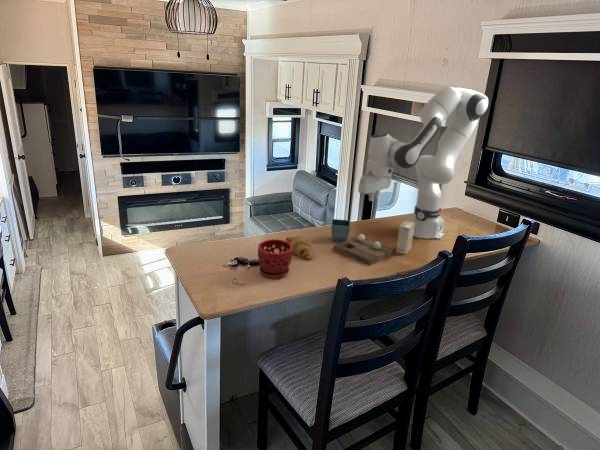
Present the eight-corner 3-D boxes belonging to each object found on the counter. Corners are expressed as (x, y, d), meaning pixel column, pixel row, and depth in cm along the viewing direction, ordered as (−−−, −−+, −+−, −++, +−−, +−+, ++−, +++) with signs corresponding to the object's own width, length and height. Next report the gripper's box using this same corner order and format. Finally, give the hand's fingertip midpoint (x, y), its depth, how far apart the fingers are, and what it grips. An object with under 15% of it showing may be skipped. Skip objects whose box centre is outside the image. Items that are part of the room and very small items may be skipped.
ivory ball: (360, 239, 193) (361, 232, 192) (366, 241, 191) (367, 234, 189) (355, 240, 190) (356, 234, 189) (361, 243, 188) (362, 236, 187)
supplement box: (401, 246, 193) (404, 220, 188) (411, 249, 191) (415, 222, 186) (395, 252, 186) (399, 225, 182) (405, 255, 184) (409, 227, 179)
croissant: (316, 267, 177) (325, 250, 176) (299, 261, 170) (308, 244, 170) (291, 248, 193) (299, 233, 193) (275, 242, 187) (282, 226, 186)
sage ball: (375, 246, 185) (376, 239, 184) (382, 249, 183) (382, 242, 182) (371, 248, 183) (372, 241, 181) (377, 251, 180) (378, 244, 179)
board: (357, 240, 197) (357, 235, 196) (393, 254, 184) (393, 249, 184) (332, 250, 185) (333, 245, 184) (369, 265, 172) (370, 260, 171)
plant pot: (250, 272, 161) (250, 244, 157) (276, 263, 170) (276, 236, 166) (272, 285, 153) (273, 255, 149) (298, 274, 161) (299, 246, 157)
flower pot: (348, 237, 201) (350, 220, 198) (348, 244, 193) (350, 226, 190) (330, 236, 202) (331, 218, 199) (329, 242, 193) (331, 224, 190)
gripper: (368, 174, 174) (365, 206, 179) (394, 168, 188) (391, 197, 193) (356, 172, 178) (353, 202, 183) (383, 166, 192) (379, 194, 197)
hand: (373, 200), depth 188 cm, fingers closed
